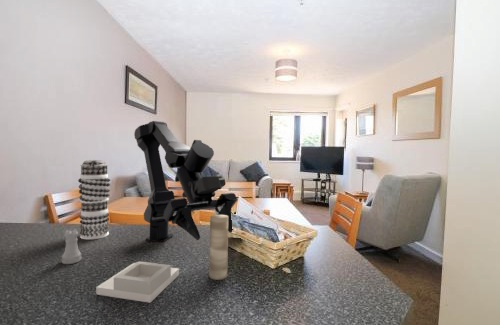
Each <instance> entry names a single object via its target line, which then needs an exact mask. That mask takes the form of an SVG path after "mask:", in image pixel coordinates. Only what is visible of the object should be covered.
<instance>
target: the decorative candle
mask: <svg viewBox="0 0 500 325" xmlns="http://www.w3.org/2000/svg"><path fill="white" fill-rule="evenodd" d="M80 172H81V173H80V178H79V179H78V180H77V181H78V183H80V184H79V185H78V188H79V190H78V193H79V194H80V196H78V198H79V202H80V203H81V210H80V215H79V219H80V221H79V223H80V226H79V229H80V231H79V234H80V236H79V238H81V239H82V240H97V239H103V238H105V237H108V236H109V234H110V233H109V231H110V227H109V226H110V223H109V222H108V221H110V218H109V216H110V213H109V208H108V201H109V200H110V198H109V197H110V194H109V192H110V191H111V190H110V188H109V189H108V187H110V186H111V183H109V182H110V181H111V179H110V178H109V173H108V164H107V163H106V162H105V160H99V159H96V160H95V159H93V160H92V159H89V160H88V159H87V160H84V161H83V162H82V164H80Z"/></svg>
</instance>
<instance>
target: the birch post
mask: <svg viewBox="0 0 500 325" xmlns="http://www.w3.org/2000/svg"><path fill="white" fill-rule="evenodd" d="M209 217H210V219H209V222H210V223H209V269H208V270H209V272H208V274H209V275H208V276H209V278H210V279H211V280H215V281H216V280H217V281H222V280H225V279H227V277H228V260H229V259H228V258H229V255H228V252H229V251H228V250H229V231H228V216H227V215H217V214H212V215H210V216H209Z"/></svg>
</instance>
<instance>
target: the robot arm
mask: <svg viewBox="0 0 500 325" xmlns="http://www.w3.org/2000/svg"><path fill="white" fill-rule="evenodd" d="M133 135H134V139H135V140H136V143H137V147H139V149H140V150H141V151H142V152H143V154H144V158H145V164H146V170H147V176H148V180H149V181H148V182H149V185H150V186H149V187H150V191H151V192H150V195H149V197H148V199H147V206H146V208H145V209H144V212H143V220H144V221H145V222H147V223H148V224H149V235H148V237H146V238H145V241H149V242H150V241H152V242H160V243H164V242H166V241H167V240H170V238H172V237H174V235H173V234H171V233H170V230H169V229H170V225H169V224H170V222H171V223H172V225H177V226H178V227H180V228H182V230H184V231H186V232H187V233H188V234H189V235H190V236H191V237H192V238H194V239H195V240H196V241H199V240H201V236H200V232H199V229H198V227H197V225H196V222H195V220H194V218H193V215H192V212H193V211H194V212H195V211H202V210H207V209H209V210H210V209H214V211H215V212H217V214H216V215H227V216H228V234H229V233H230V234H232V233H231V232H232V230H233V229H232V220H231V212H232V208H233V207H234V205H236V203H237V202H238V200H239V199H238V198H237V196H236V194H235V192H226V193H221V194H220V195H219V196H218V198H217V199H212V198H215V196H216V192H217V191H218V190H221V189H222V188H224V186H226V179H225V177H224V176H223V174H220V173H219V174H215V175H209V176H203V177H202V175H201V173H203V172H205V170H206V169H207V167H208V165H209V164H210V162H211V160H212V159H213V157H214V156H215V152H214V150H213V147H210V146H209V145H208V144H206V143H205V142H203V141H202V140H201V139H193V142H192V144H191V147H190V146H189V145H188V144H186V143H183V142H180V141H179V140H178V138H177V137H176V136H175V135H174V133H173V132H172V131H171V130H170V129H169V127H168V124H167V123H166V122H164V121H157V120H152V121H149V122H148V123H145V124H141V125H139V126H137V128H136V129H135V130H134V134H133ZM160 146H161V147H162V149H163V150H164V151H165V154H164V155H165V156H164V159H165V162H166V164H167V166H168V167H169V168H170V169H178V170H177V171H176V175H175V178H174V182H176V183H179V184H180V186H181V189H182V190H183V193H182V198H175V193H174V191H173V190H169V188H167V185H166V179H165V175H164V170H163V164H162V159H161V155H160V149H159V148H160Z"/></svg>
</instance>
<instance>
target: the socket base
mask: <svg viewBox="0 0 500 325" xmlns="http://www.w3.org/2000/svg"><path fill="white" fill-rule="evenodd" d="M179 275H180V268H179V267H178V268H177V267H172V264H164V263H157V262H156V263H155V262H148V261H139V260H138V261H136V262H133V263H131V264H130V265H128V266H127V267H126V268H123V269H122V270H121V271H119V272H118V273H115V274H114V275H113V276H112V277H109V278H108V279H107V280H105V281H103V282H102V283H100V284H99V285H98V286H96V287H95V288H96V290H95V291H96V292H95V294H96V295H99V296H103V297H111V298H117V299H124V300H130V301H137V302H143V303H152V302H153V301H154V300H155V299H156V298H157V297H158V296H159V295H160V294H161V293H162V292H164V290H165V289H166V288H167V287H168V286H170V284H171V283H172V282H173V281H174V280H175V279H177V277H179Z"/></svg>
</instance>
